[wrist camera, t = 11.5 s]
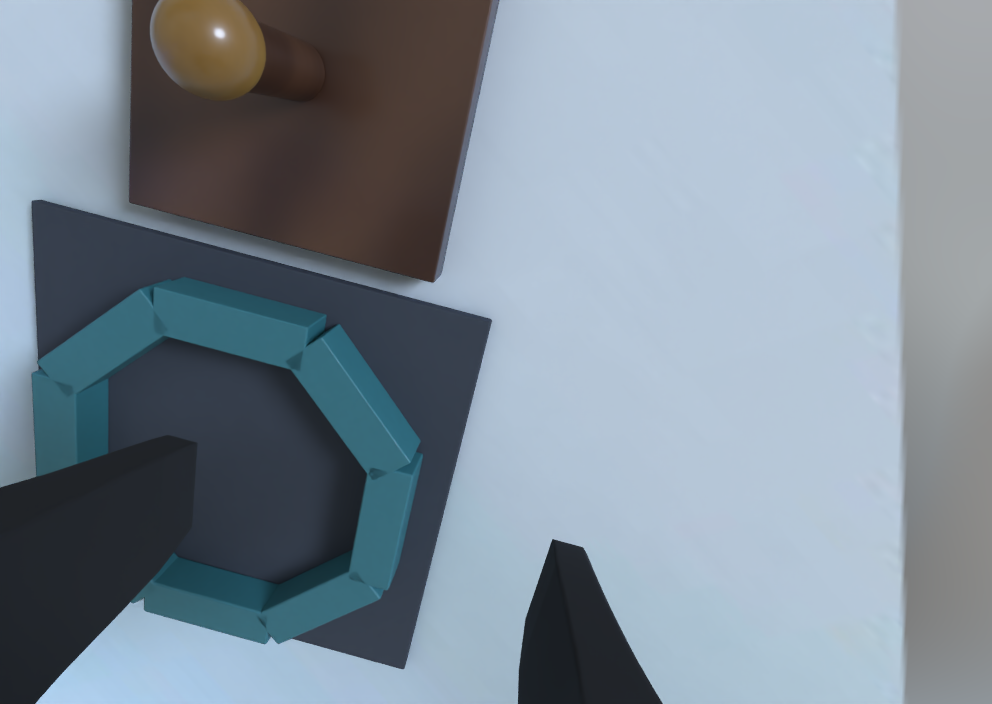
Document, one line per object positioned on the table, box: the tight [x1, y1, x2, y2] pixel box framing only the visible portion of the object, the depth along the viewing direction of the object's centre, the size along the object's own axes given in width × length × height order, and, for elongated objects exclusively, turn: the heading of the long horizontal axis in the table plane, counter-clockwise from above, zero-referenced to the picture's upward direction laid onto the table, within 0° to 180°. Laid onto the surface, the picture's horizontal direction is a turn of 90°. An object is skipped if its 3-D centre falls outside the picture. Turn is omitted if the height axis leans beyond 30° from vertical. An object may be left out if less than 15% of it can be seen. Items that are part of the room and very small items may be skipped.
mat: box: [32, 200, 492, 669], centre depth 22 cm, size 16×16×1 cm
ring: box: [32, 277, 423, 644], centre depth 21 cm, size 14×14×2 cm
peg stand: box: [129, 0, 499, 283], centre depth 14 cm, size 10×10×7 cm
